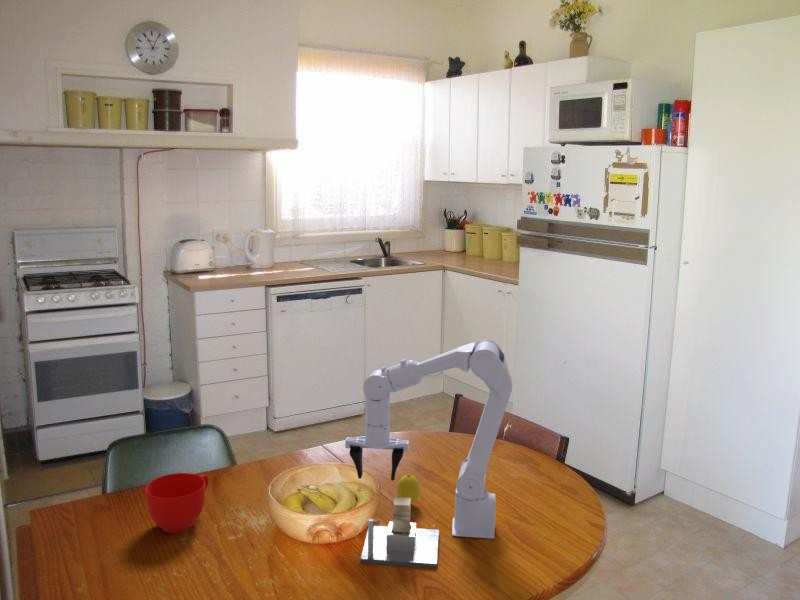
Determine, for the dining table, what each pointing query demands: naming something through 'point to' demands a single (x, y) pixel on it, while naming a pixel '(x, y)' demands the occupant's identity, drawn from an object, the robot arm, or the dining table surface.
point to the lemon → (408, 487)
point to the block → (401, 514)
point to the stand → (400, 546)
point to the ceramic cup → (176, 500)
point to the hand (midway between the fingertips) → (376, 477)
